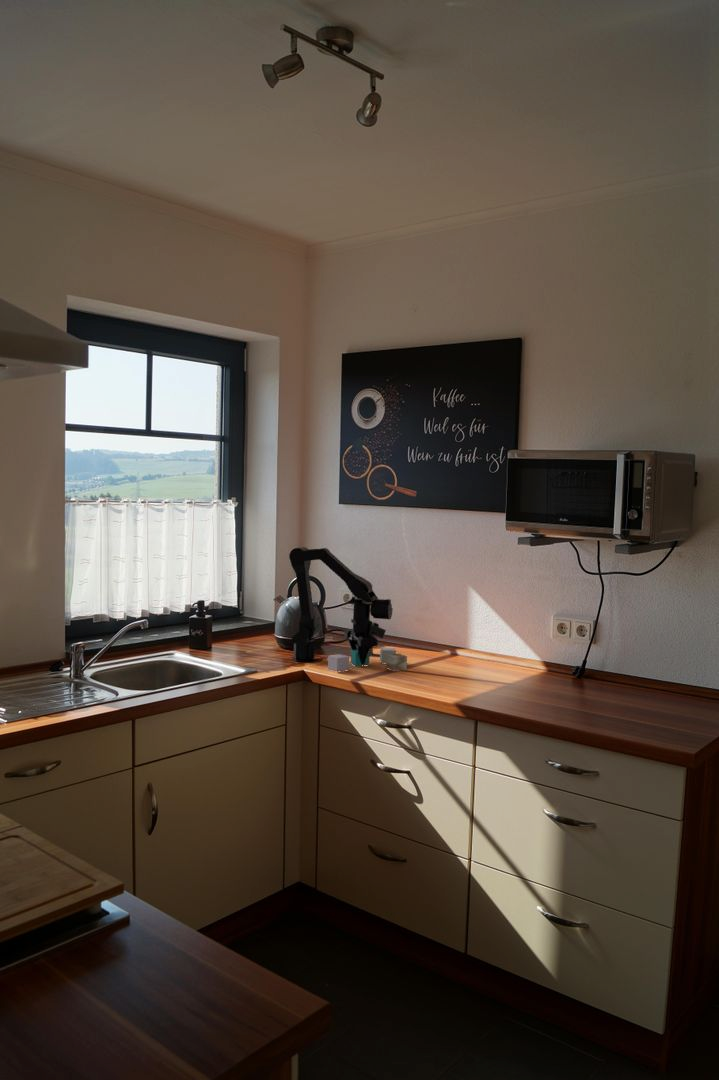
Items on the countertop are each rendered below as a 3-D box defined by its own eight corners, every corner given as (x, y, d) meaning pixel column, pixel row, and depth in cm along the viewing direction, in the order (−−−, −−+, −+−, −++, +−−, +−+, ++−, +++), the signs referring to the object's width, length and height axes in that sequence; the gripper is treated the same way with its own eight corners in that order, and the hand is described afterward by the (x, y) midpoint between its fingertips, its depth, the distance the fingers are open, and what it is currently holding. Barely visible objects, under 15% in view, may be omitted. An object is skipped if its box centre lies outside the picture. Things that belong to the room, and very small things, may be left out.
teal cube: (355, 667, 298) (355, 652, 298) (350, 664, 303) (351, 649, 303) (369, 666, 300) (369, 652, 300) (364, 663, 305) (364, 649, 304)
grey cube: (381, 664, 304) (381, 650, 304) (379, 661, 309) (380, 647, 309) (395, 664, 305) (396, 650, 304) (394, 661, 310) (394, 647, 309)
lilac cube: (336, 673, 288) (337, 658, 288) (327, 670, 292) (328, 655, 292) (348, 671, 291) (349, 656, 291) (339, 668, 295) (340, 654, 295)
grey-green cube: (393, 672, 293) (394, 657, 293) (386, 669, 297) (386, 654, 297) (406, 670, 295) (407, 656, 295) (398, 667, 300) (399, 653, 299)
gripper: (393, 621, 294) (391, 667, 295) (374, 612, 312) (372, 656, 313) (361, 621, 291) (360, 668, 292) (344, 613, 308) (343, 657, 309)
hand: (359, 662), depth 302 cm, fingers open, 6 cm apart
